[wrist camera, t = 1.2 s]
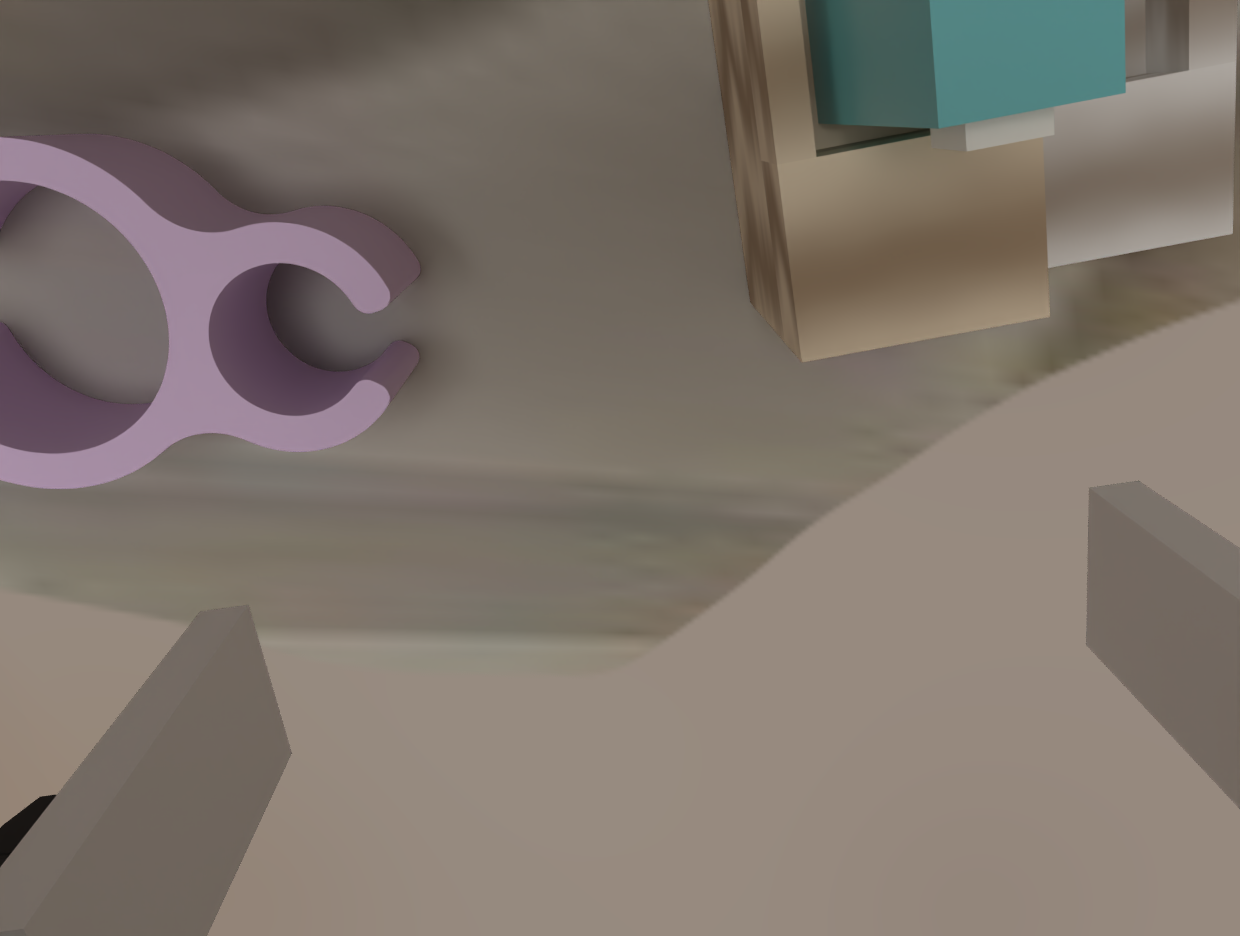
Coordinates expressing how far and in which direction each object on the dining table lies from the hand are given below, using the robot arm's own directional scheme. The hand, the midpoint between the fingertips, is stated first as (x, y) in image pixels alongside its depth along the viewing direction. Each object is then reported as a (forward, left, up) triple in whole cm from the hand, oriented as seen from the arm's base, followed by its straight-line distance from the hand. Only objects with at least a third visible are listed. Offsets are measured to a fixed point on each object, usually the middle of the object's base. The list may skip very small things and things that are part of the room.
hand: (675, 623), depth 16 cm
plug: (-8, +9, -20) cm, 24 cm away
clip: (-4, -18, -29) cm, 34 cm away
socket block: (-8, +14, -28) cm, 33 cm away
